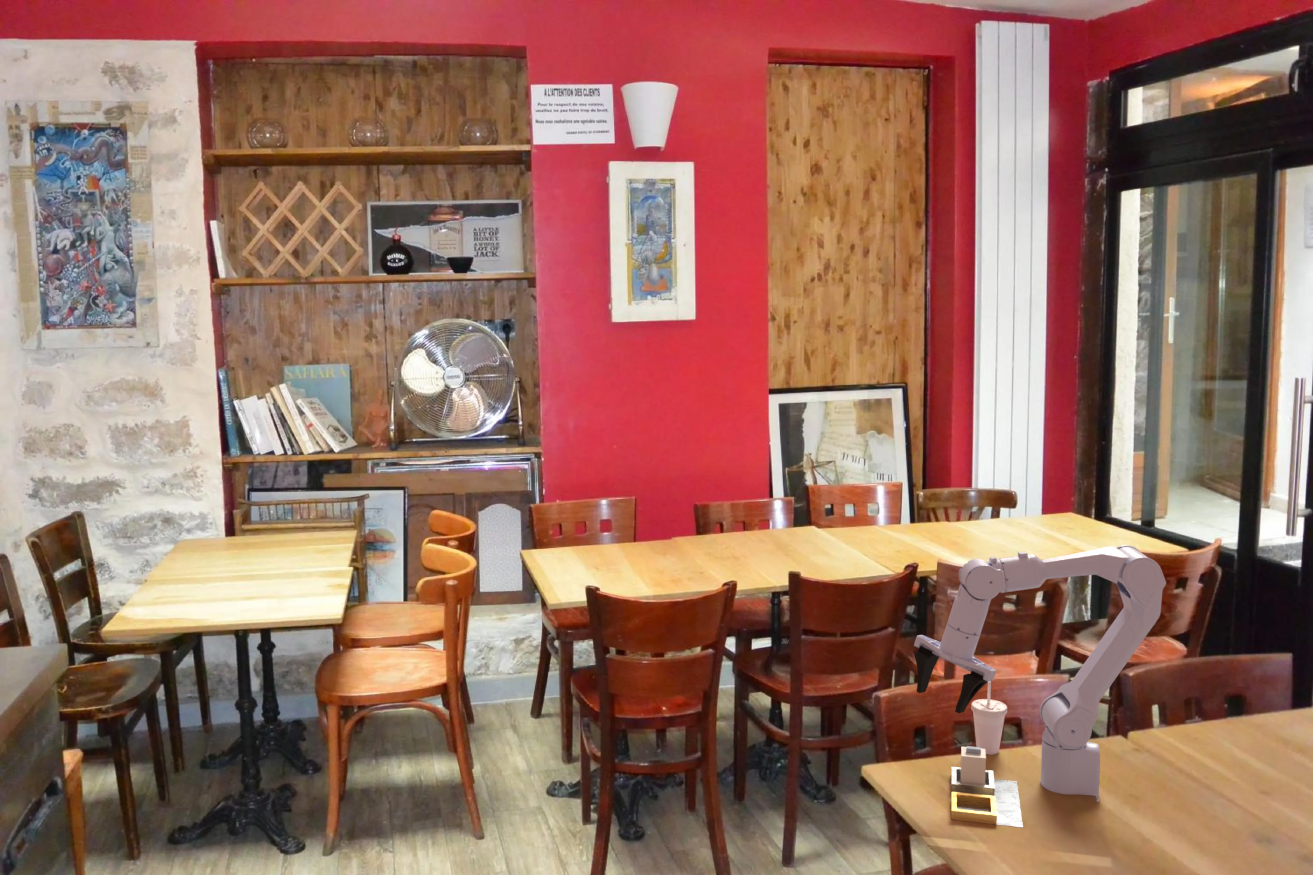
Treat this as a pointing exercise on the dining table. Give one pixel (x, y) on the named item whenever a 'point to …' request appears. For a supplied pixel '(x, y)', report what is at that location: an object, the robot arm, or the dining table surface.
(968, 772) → the plug
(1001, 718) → the smoothie
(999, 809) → the panel
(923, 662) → the robot arm
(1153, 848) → the dining table surface
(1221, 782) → the dining table surface
